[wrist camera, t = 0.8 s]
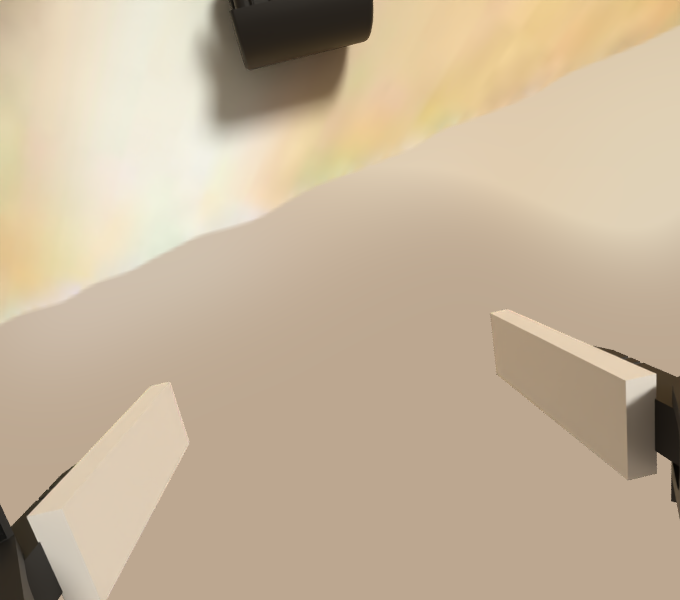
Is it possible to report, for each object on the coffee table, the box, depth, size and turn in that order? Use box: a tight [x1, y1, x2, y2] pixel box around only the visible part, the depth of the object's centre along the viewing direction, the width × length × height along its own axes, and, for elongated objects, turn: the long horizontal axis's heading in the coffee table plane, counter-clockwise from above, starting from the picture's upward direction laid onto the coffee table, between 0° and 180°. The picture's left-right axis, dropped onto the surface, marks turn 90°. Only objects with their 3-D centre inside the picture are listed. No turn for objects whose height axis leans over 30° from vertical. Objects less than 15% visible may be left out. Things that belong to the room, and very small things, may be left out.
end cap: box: [229, 0, 373, 70], centre depth 28 cm, size 10×7×7 cm
